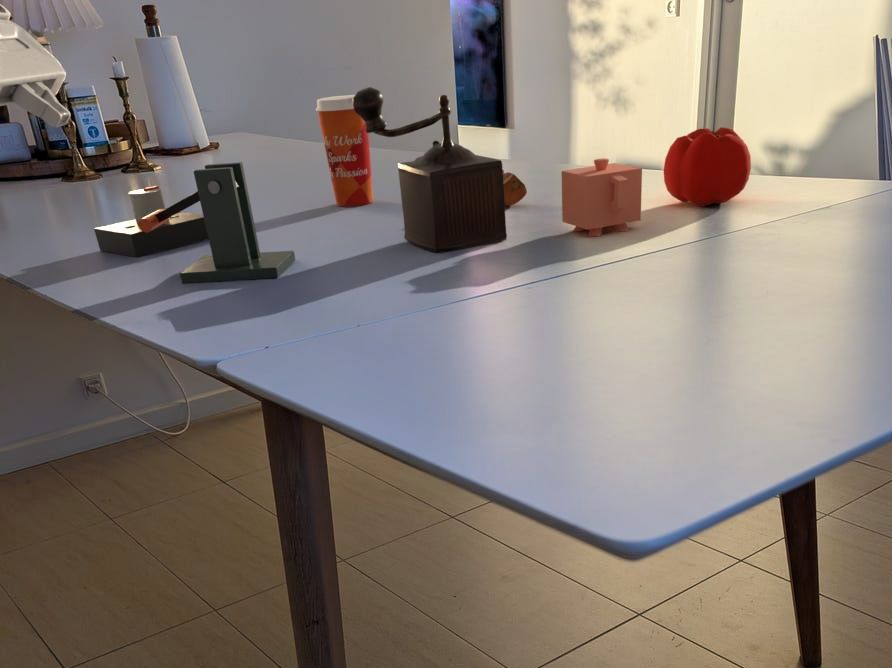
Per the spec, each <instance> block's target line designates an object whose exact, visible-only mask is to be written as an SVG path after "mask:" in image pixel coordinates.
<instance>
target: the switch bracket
mask: <svg viewBox="0 0 892 668" xmlns="http://www.w3.org/2000/svg"><path fill="white" fill-rule="evenodd" d="M226 167H227V168H226ZM193 176H194V181H195V184H196V190H197V191H198V194H199V198H200V201H199V202H200V207H201V212H202V215H203V216H204V221H205V225H206V230H207V234H208V238H209V239H208V243H209V248H210V251H211V255H203V256H202V257H200V258H199V259H197V260H196V261H194V262H193V263H192V264H190V265H189V266H187V267H186V268H184V269H183V270H182V271H181V272H179V277H180V281H181V284H193V283H212V282H227V281H228V282H229V281H245V280H247V281H248V280H263V279H265V280H266V279H277V278H279V277H280V276H281V275H282V274H284V272H285V271H286V270H287V269H288V268H289V267H291V265H292V264H293V263H294V262H295V261H296V255H295V254H296V253H295V250H280V251H279V250H278V251H264V252H261V251H260V246H259V241H258V236H257V230H256V226H255V220H254V216H253V215H254V214H253V210H252V204H251V200H250V194H249V190H248V186H247V180H246V175H245V169H244V164H243V162H242V161H239V162H237V161H236V162H226V163H225V162H224V163H222V162H221V163H211V164H210V163H209V164H206V165H204V168H201V169H195V170H193ZM235 179H236V181H237V183H238V185H239V187H238V188H237V187H236V182H235Z"/></svg>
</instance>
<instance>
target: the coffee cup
mask: <svg viewBox="0 0 892 668" xmlns="http://www.w3.org/2000/svg"><path fill="white" fill-rule="evenodd" d="M355 95H356V94H347V95H345V94H344V95H336V96H329V97H328V96H327V97H321V98H318V99H317V100H316V107H315V112H317V113H318V120H319V125H320V129H321V134H322V140H323V145H324V149H325V154H326V159H327V164H328V165H327V166H328V170H329V175H330V179H331V185H332V190H333V195H334V198H335V202H336V206H338V207H347V208H348V207H359V206H366V205H369V204H371V203H373V201H374V196H373V195H374V193H373V180H372V179H373V178H372V165H371V151H370V137H369V133H366V123H365V121H364V120H363V119H362V118H361V116H359V115H358V114H357V113H356V112H355V110H354V107H353V97H354V96H355Z"/></svg>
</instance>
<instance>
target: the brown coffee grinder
mask: <svg viewBox="0 0 892 668" xmlns="http://www.w3.org/2000/svg"><path fill="white" fill-rule="evenodd" d="M354 95H355V96H354V97H353V107H354V110H355V112H356V113H357V114H358V115H359V116H361V118H362V119H363V120H364V121H365V123H366V133H368V134H371V133H373V134H375V135H378V136H381V137H387V138H396V137H401V136H404V135H407V134H410V133H413V132H416V131H419V130H421V129H424V128H427V127H430V126H433V125H434V124H436V123H438V122H439V121H440V120H441V128H442V141H441V142H440V141H438V140H433V141H432V147H430V148H429V149H428V150H427V151H426V152H425V153H424V154H423V155H421V156H418V157H416V158H415V159H414V160H411V161H404V162H398V163H397V170H398V181H399V187H400V188H399V189H400V197H401V205H402V206H401V207H402V214H403V227H404V235H403V238H404V239H405V241H407V242H408V243H410V245H413V246H415V247H418V248H420V249H422V250H425V251H428V252H433V253H436V254H437V253H438V254H439V253H447V252H453V251H458V250H462V249H468V248H473V247H477V246H478V247H479V246H484V245H487V244H492V243H493V244H494V243H497V242H501V241H505V240H507V238H508V237H507V236H508V235H507V224H506V206H505V202H504V186H503V170H504V168H503V161H502V160H501V159H497V158H493V157H489V156H483V155H479V154H475V153H474V152H472V150H470V149H468V148H466V147H464V146H463V145H461V144H458V143H455V142H454V141H453V140H452V139H451V129H450V128H451V127H450V115H451V114H452V110H451V108H450V107H449V104H450V98H449V96H448V94H447V95H446V94H442V95H440V96H439V98H438V103H439V106H440V107H439V110H438V113H436V114H433V115H432V116H430V117H428V118H424V119H422V120H418V121H415V122H413V123H410V124H406V125H404V126H401V127H397V128H392V129H389V128H388V129H386V127H387V126H388V123H387V121H386V120H385V117H383V115H382V112H383V109H382V108H383V105H384V96H383V94H382V92H381V91H380V90H379V89H377V88H374V87H372V86H369V87H368V86H367V87H365V88H363V89H360V90H358V91H357V92H356V93H355V94H354Z"/></svg>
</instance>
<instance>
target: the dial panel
mask: <svg viewBox="0 0 892 668" xmlns="http://www.w3.org/2000/svg"><path fill="white" fill-rule="evenodd" d="M93 231H94V234H95V238H96V241H97V245H98V248H99V251H100V252H105V253H110V254H111V253H112V254H117V255H122V256H128V257H134V258H140V257H143V256H148V255H152V254H155V253H160V252H164V251H167V250H172V249H177V248H180V247H184V246H188V245H192V244H196V243H200V242H204V241H209V238H208V234H207V230H206V225H205V221H204V216H203V214H199V213H190V212H183V211H181V212H179V213H177V214H175V215H173V216H171V217H170V218H169V220H168V221H167V222H166V223H164V224H162V225H160V226H159V227H157V228H155V229H153V230H152V231H150V232H144V231H142V230H141V229H140V227H139V224H137V223H136V220H135V219H131V220H126V221H121V222H116V223H112V224H108V225H105V226H104V225H103V226H98V227H95V228H93Z"/></svg>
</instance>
